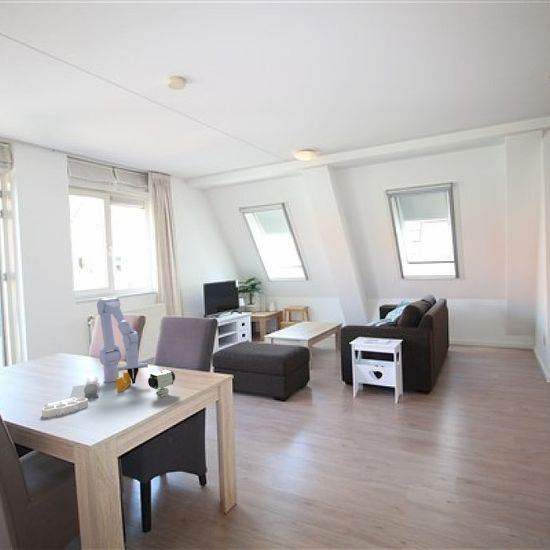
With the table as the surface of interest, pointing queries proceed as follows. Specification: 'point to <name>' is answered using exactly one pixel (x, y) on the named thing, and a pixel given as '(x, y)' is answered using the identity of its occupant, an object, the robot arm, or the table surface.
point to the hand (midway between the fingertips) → (133, 383)
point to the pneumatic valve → (161, 381)
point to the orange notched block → (123, 382)
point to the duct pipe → (86, 389)
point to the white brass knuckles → (64, 406)
